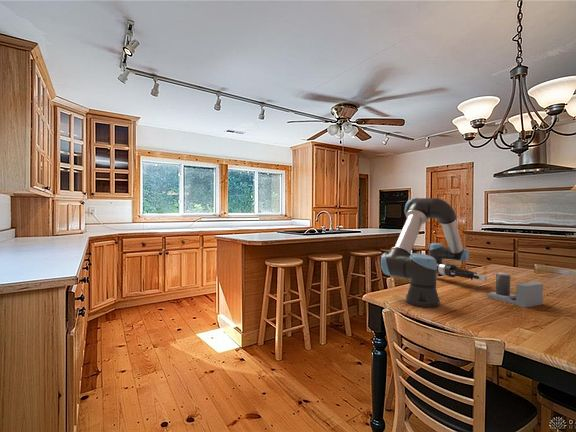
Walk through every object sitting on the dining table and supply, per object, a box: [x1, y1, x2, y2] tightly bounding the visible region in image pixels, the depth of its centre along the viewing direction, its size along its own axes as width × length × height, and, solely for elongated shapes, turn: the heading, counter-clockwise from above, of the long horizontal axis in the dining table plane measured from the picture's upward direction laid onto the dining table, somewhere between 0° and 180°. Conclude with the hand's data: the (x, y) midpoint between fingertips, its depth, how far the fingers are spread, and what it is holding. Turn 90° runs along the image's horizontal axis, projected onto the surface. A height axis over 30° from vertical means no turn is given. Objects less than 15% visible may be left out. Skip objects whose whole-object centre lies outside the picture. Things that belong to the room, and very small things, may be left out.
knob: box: [489, 272, 516, 300], centre depth 153 cm, size 8×8×12 cm
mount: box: [486, 281, 544, 308], centre depth 148 cm, size 13×18×10 cm
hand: (485, 278), depth 162 cm, fingers closed
